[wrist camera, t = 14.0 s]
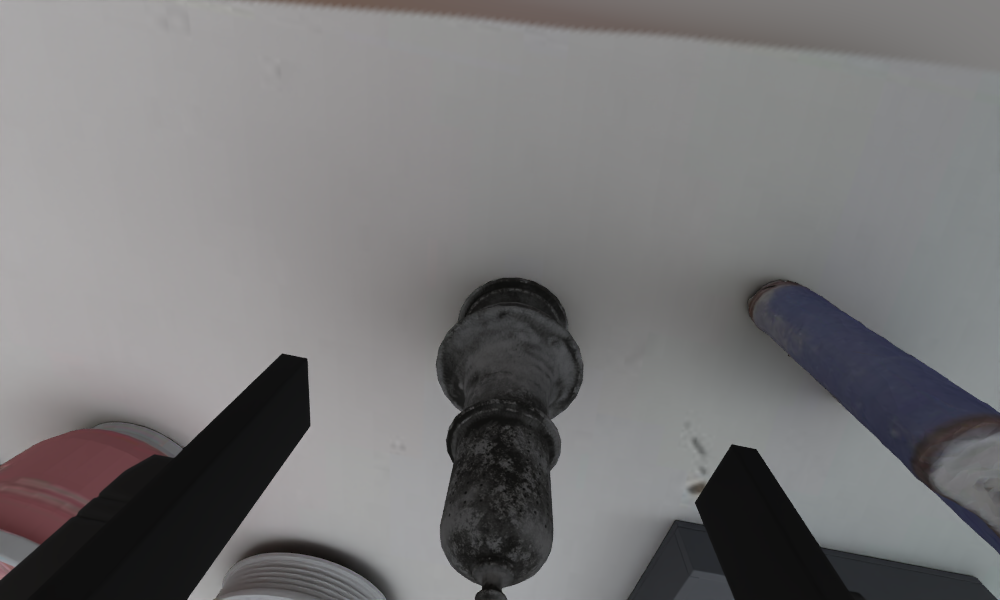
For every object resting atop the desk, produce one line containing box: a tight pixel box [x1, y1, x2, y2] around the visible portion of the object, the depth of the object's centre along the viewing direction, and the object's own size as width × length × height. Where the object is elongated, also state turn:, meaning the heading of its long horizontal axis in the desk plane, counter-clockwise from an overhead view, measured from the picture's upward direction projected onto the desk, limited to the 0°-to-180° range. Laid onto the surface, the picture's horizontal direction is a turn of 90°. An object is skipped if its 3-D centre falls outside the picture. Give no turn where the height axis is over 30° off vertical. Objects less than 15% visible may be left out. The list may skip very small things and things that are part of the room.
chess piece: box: [436, 278, 583, 600], centre depth 13 cm, size 6×6×12 cm
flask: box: [748, 280, 1000, 554], centre depth 13 cm, size 9×3×11 cm, turn 50°
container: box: [0, 422, 183, 580], centre depth 21 cm, size 10×10×8 cm
